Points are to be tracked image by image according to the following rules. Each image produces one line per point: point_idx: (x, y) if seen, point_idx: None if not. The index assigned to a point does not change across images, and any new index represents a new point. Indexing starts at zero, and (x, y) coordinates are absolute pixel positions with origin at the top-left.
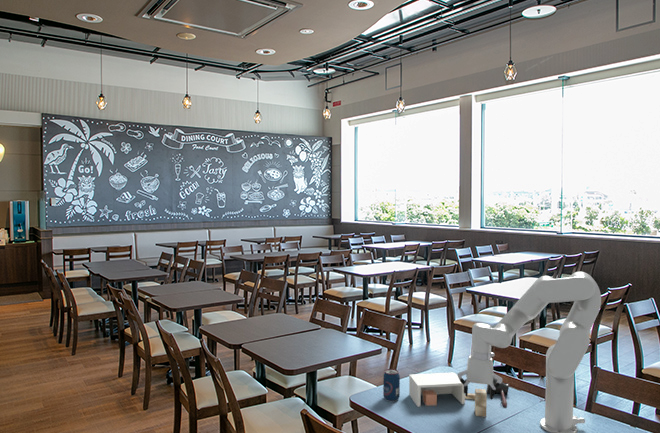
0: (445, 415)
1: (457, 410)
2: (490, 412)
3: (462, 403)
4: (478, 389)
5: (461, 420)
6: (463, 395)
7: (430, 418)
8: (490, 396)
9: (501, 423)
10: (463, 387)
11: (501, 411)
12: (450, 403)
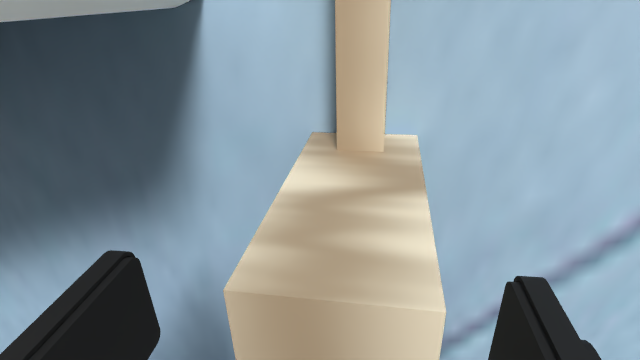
0: (98, 258)
1: (160, 164)
2: (471, 151)
3: (176, 5)
4: (290, 322)
5: (214, 312)
6: (125, 3)
7: (30, 304)
8: (501, 356)
9: None
10: (14, 11)
11: (618, 102)
12: (64, 17)
